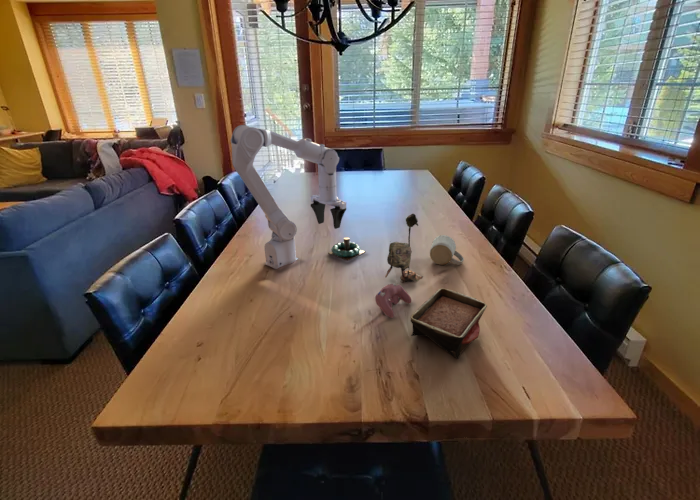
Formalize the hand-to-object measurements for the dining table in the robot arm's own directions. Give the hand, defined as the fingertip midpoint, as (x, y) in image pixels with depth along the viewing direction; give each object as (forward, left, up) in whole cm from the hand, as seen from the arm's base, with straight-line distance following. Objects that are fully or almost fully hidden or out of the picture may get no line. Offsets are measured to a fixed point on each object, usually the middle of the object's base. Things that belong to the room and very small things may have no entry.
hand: (328, 225), depth 126 cm
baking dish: (-17, -54, -10) cm, 57 cm away
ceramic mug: (+19, -35, -10) cm, 41 cm away
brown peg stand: (+2, -7, -10) cm, 12 cm away
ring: (+1, -6, -8) cm, 10 cm away
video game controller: (-15, -38, -10) cm, 42 cm away
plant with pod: (-1, -32, -10) cm, 33 cm away
